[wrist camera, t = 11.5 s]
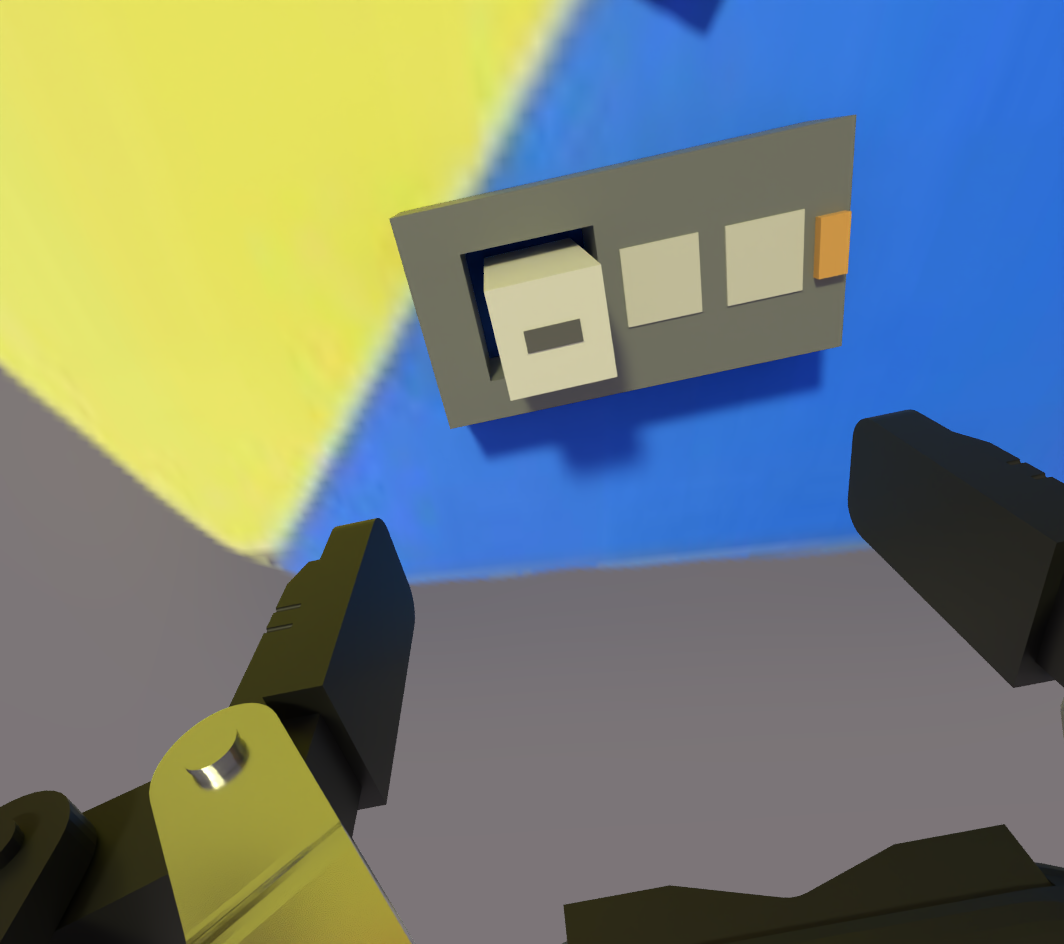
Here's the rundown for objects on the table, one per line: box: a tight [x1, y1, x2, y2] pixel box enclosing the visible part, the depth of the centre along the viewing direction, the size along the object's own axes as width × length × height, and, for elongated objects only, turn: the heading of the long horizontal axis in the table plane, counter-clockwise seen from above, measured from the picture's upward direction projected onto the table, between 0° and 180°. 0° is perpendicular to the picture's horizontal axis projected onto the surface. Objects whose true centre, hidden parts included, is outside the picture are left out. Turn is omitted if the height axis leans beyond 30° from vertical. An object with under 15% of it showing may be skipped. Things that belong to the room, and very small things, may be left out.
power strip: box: [390, 115, 856, 429], centre depth 25 cm, size 18×9×4 cm, turn 101°
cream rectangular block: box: [484, 238, 617, 401], centre depth 24 cm, size 4×4×8 cm
